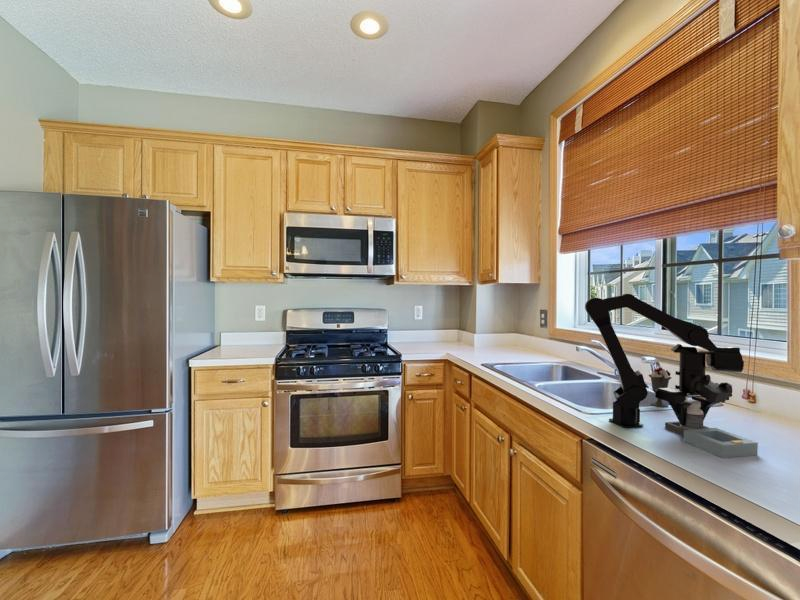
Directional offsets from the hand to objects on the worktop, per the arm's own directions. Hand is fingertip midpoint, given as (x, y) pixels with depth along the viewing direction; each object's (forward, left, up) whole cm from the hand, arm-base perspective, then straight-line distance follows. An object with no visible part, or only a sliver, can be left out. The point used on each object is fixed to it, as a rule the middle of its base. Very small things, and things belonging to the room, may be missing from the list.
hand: (691, 424), depth 103 cm
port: (-3, -10, -2) cm, 11 cm away
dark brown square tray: (0, 0, -2) cm, 2 cm away
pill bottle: (0, 0, -2) cm, 2 cm away
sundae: (+13, +23, -2) cm, 27 cm away
